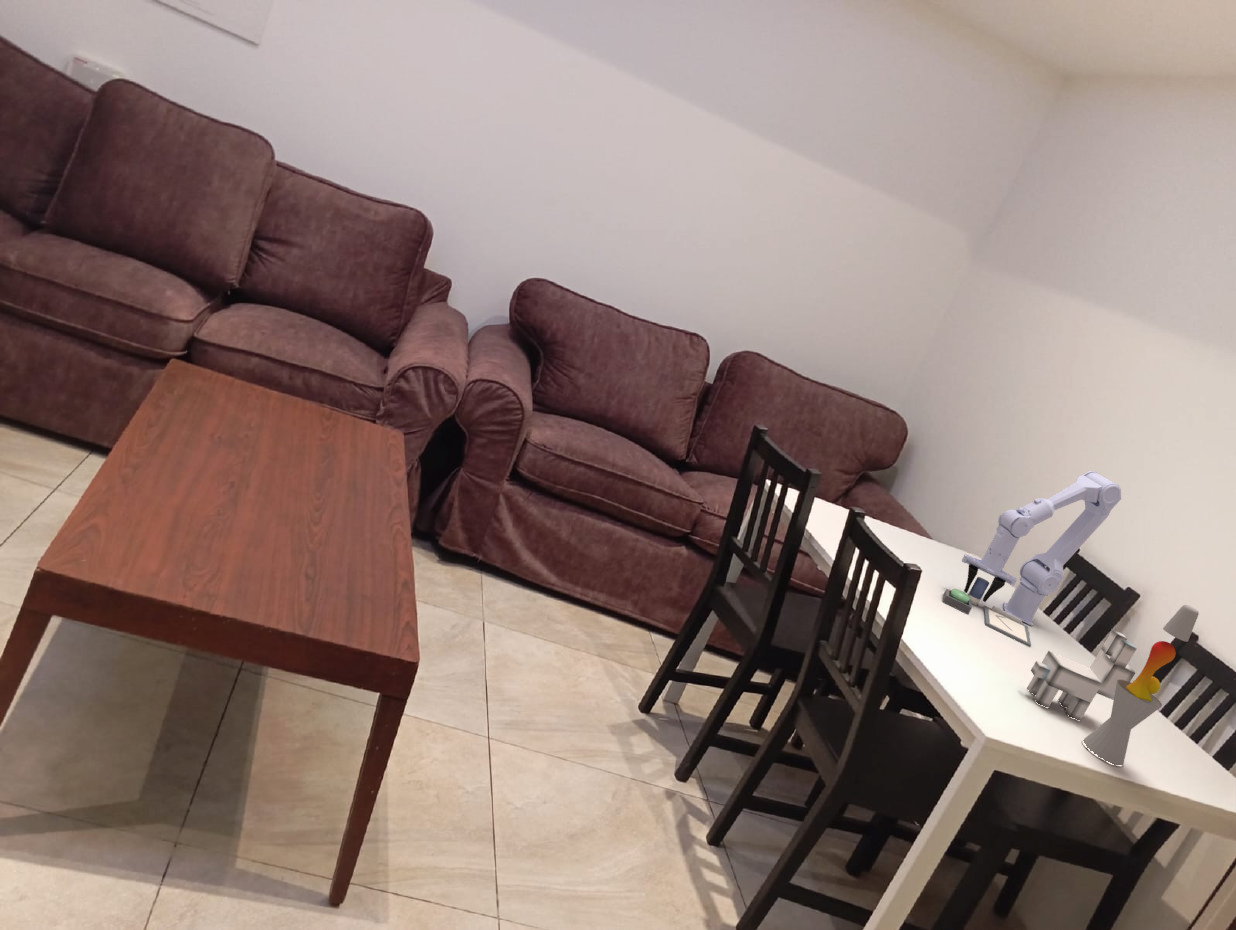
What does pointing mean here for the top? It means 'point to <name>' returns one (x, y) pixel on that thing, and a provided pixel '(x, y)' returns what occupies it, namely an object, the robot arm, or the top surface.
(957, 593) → the button
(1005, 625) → the clipboard
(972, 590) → the marker
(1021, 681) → the top surface
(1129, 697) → the lava lamp
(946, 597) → the button housing
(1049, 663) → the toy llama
